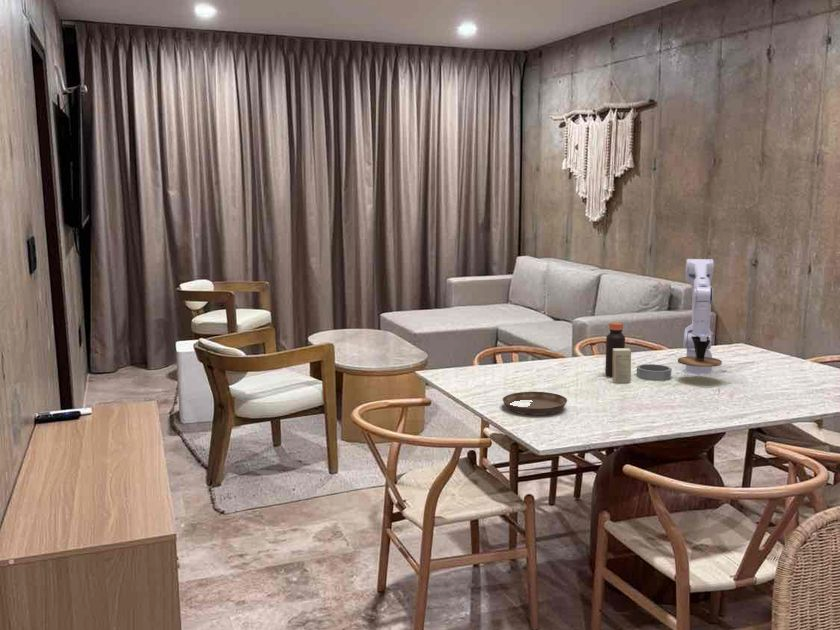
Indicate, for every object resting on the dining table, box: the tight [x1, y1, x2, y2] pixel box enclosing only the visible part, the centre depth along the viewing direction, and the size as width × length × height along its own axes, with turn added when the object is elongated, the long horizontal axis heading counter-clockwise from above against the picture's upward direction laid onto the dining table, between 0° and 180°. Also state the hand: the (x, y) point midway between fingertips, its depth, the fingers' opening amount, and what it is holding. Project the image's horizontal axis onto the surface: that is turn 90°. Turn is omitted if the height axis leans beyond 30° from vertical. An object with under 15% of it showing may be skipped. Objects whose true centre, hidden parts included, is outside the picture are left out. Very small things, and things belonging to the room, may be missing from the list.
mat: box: [674, 374, 732, 389], centre depth 283 cm, size 14×14×1 cm
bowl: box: [635, 363, 673, 382], centre depth 291 cm, size 12×12×4 cm
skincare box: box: [611, 347, 632, 384], centre depth 285 cm, size 6×4×12 cm
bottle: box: [604, 322, 626, 378], centre depth 294 cm, size 7×7×20 cm
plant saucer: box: [502, 391, 568, 416], centre depth 252 cm, size 21×21×3 cm
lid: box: [677, 353, 723, 368], centre depth 282 cm, size 15×15×5 cm
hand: (699, 357), depth 282 cm, fingers closed on lid, 3 cm apart
